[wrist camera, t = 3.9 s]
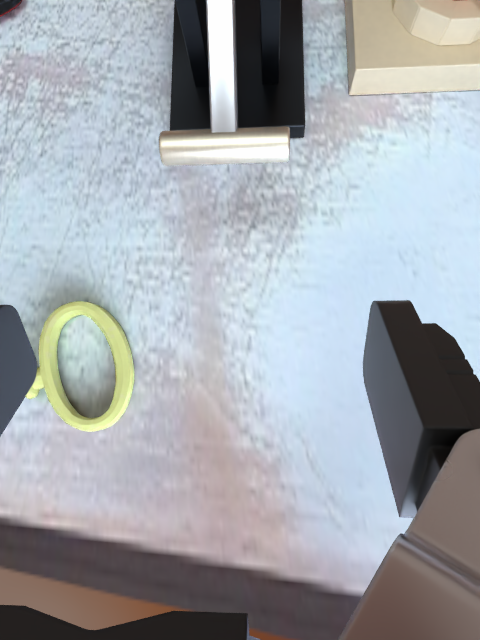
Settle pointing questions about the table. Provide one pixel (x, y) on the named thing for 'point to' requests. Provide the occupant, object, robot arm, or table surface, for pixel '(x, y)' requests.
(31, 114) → the table surface
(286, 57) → the bracket
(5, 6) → the handheld console
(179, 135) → the lever
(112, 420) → the key
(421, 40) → the button box
